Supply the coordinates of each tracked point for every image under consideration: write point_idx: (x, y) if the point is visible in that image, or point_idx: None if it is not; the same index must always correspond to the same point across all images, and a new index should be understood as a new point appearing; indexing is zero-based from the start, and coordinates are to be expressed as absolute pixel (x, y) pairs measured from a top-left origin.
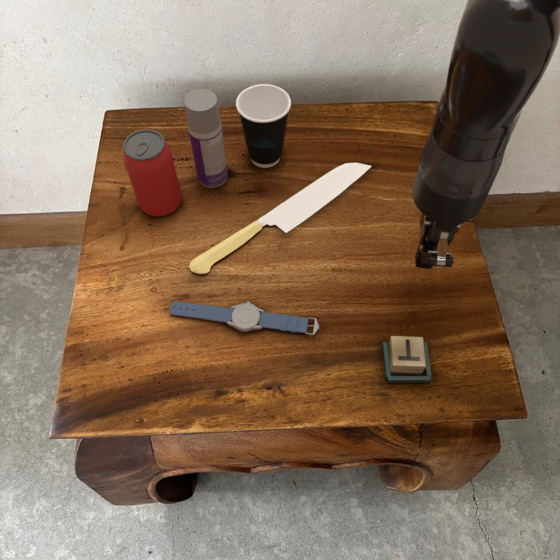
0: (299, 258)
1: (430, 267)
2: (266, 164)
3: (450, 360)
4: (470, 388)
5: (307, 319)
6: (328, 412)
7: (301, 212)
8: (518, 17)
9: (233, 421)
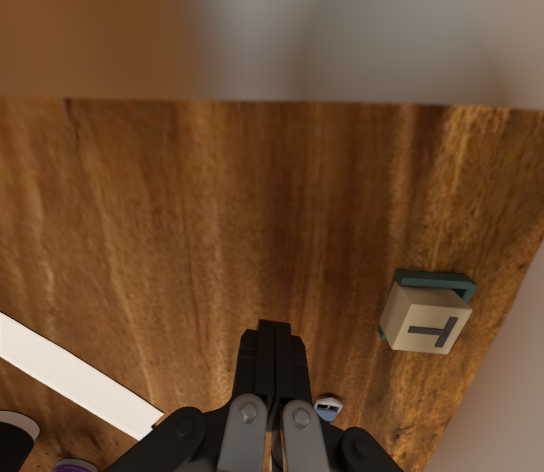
0: (208, 402)
1: (304, 349)
2: (31, 434)
3: (440, 233)
4: (509, 209)
5: (318, 411)
6: (452, 393)
7: (120, 399)
8: None
9: (424, 460)
